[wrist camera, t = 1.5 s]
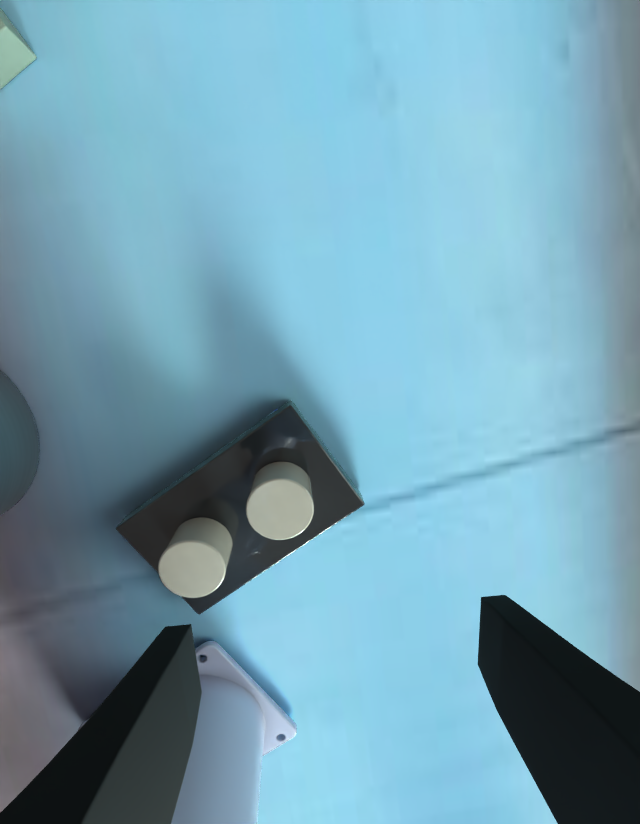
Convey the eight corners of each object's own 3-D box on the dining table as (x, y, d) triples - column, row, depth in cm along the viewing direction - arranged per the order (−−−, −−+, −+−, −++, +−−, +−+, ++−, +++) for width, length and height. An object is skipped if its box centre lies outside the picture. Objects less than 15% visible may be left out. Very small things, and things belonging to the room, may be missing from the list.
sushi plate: (204, 598, 20) (187, 649, 17) (125, 516, 19) (92, 554, 16) (361, 493, 19) (374, 527, 16) (290, 398, 18) (290, 415, 15)
